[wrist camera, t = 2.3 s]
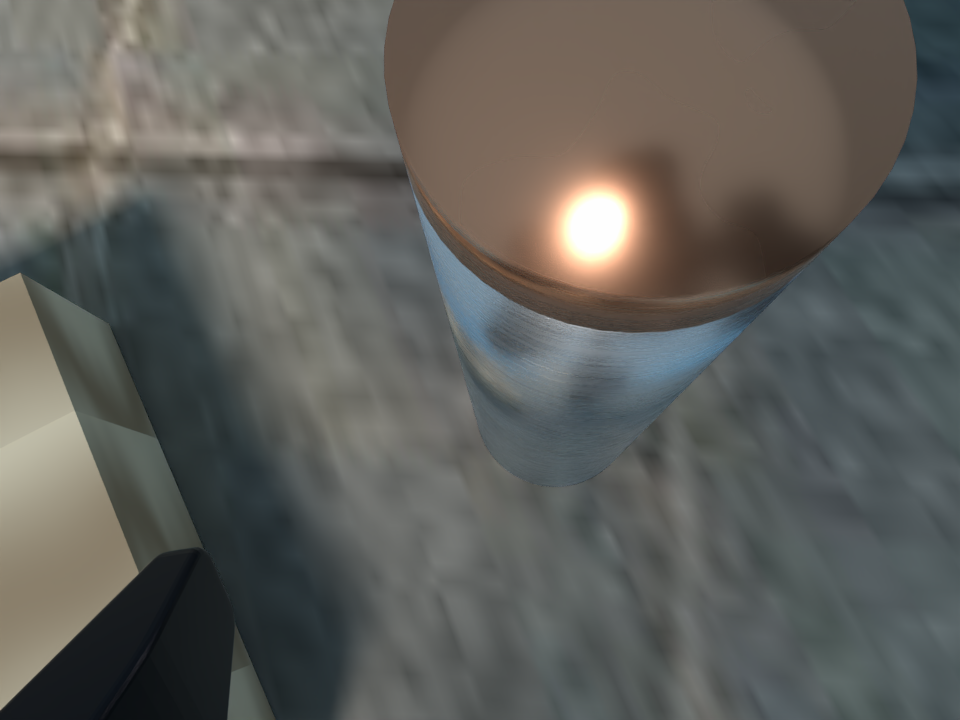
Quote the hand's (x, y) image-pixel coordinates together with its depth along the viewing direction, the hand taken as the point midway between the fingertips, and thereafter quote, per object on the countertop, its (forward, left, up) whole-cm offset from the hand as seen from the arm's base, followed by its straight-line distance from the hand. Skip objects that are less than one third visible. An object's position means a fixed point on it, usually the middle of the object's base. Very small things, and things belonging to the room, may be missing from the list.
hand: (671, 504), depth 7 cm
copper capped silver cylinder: (+3, -1, -10) cm, 10 cm away
